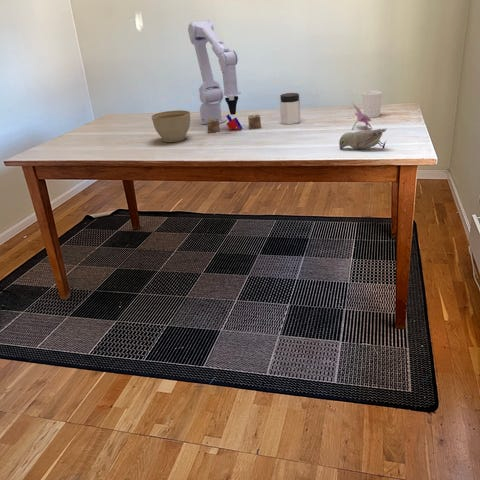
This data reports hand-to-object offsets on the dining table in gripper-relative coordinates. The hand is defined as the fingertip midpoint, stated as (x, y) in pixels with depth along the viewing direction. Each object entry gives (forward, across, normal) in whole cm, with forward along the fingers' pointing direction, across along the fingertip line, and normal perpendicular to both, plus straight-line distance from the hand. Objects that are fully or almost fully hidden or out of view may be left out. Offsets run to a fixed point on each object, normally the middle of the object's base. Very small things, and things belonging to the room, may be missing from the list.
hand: (233, 114), depth 216 cm
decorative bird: (+7, -47, -44) cm, 65 cm away
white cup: (+7, 0, -60) cm, 61 cm away
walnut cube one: (+7, 0, -9) cm, 11 cm away
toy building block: (+7, 0, 0) cm, 7 cm away
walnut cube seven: (+7, 0, +9) cm, 11 cm away
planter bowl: (+7, -8, +26) cm, 28 cm away
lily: (+7, -19, -51) cm, 55 cm away
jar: (+7, +4, -25) cm, 26 cm away
